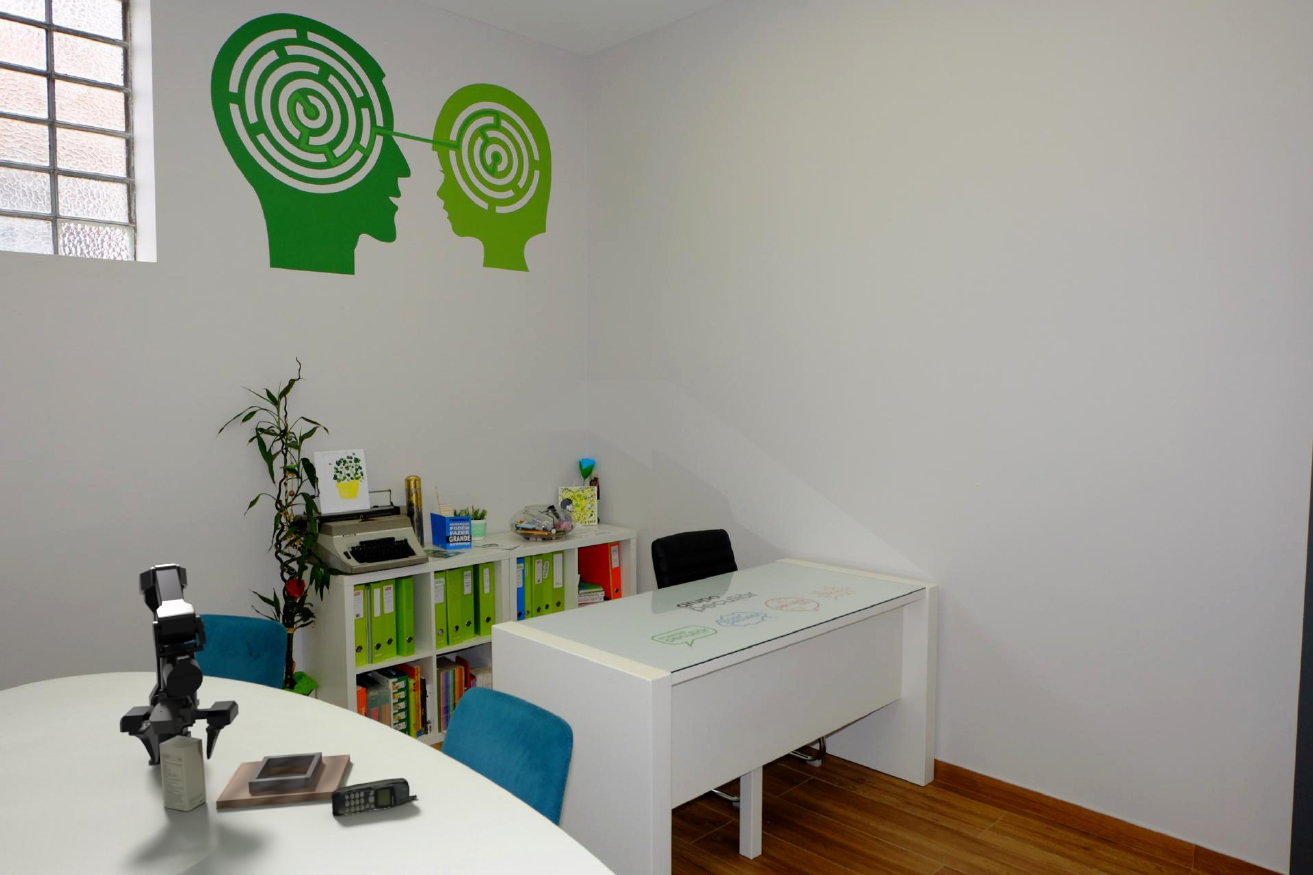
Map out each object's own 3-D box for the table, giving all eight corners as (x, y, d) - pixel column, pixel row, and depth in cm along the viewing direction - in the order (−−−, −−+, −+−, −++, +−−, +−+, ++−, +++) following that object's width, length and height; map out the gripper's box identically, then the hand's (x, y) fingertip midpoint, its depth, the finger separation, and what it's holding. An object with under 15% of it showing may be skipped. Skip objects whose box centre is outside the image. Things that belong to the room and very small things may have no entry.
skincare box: (207, 801, 162) (204, 738, 161) (187, 812, 158) (185, 748, 157) (181, 795, 164) (178, 733, 163) (161, 806, 160) (158, 743, 159)
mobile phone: (331, 794, 155) (416, 777, 161) (331, 786, 158) (415, 770, 164) (332, 820, 156) (418, 803, 161) (332, 812, 159) (416, 796, 164)
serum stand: (216, 808, 159) (215, 790, 159) (242, 769, 175) (241, 752, 175) (335, 798, 163) (335, 781, 163) (350, 761, 179) (349, 744, 178)
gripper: (103, 698, 150) (108, 785, 151) (219, 691, 153) (222, 776, 154) (130, 676, 161) (134, 756, 162) (237, 670, 164) (240, 749, 165)
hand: (182, 760), depth 160 cm, fingers open, 9 cm apart
